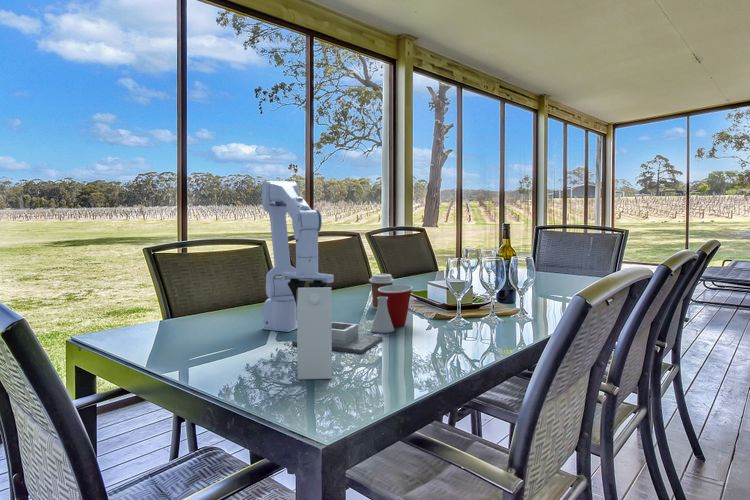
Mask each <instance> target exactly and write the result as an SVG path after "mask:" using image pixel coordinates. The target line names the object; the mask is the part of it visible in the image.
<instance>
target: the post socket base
mask: <svg viewBox="0 0 750 500" xmlns="http://www.w3.org/2000/svg"><path fill="white" fill-rule="evenodd" d="M383 339H384V337H383V336H379V335H373V334H371V335H370V334H360V333H359V324H358V323H350V322H349V323H348V322H339V321H337V322H336V321H332V351H337V352H344V353H345V352H346V353H353V354H358V355H359V354H360V355H362V354H364V353H365V352H368V351H369V350H370V349H371V348H373V347H375V346H376V345H377V344H379V343H380V342H382V341H383ZM291 342H292V343H291V346H296V347H297V338H296V339H295V340H292V341H291Z"/></svg>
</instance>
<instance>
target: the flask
mask: <svg viewBox="0 0 750 500" xmlns="http://www.w3.org/2000/svg"><path fill="white" fill-rule="evenodd" d="M377 299H378V308H377V309H376V312H375V316H374V319H373V321H372V323H371V326H370V332H372V333H378V334H390V333H393V332H394V331H395V327H393V324H392V322H391V319H390V315H389V312H388V308H387V300H388V297H377Z"/></svg>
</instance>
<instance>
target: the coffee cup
mask: <svg viewBox="0 0 750 500" xmlns="http://www.w3.org/2000/svg"><path fill="white" fill-rule="evenodd" d="M368 281H369V283H370V285H371V286H370V287H371V297H372V299H371V300H372V308H373V309H374V310H377V308H378V299H377V297H381V295H380V293H379V291H378V288H380V287H384V286H389V285H394V284H393V283H395V279H394V278H393V275H392V274H390V273H374V274H372V275H371V277H370V278H369V279H368Z"/></svg>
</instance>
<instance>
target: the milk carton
mask: <svg viewBox="0 0 750 500" xmlns="http://www.w3.org/2000/svg"><path fill="white" fill-rule="evenodd" d="M332 311H333V310H332V287H331V286H330V287H327V286H326V287H322V288H310V287H304V288H298V300H297V306H296V313H297V329H296V335H297V336H296V337H297V338H296V339H297V346H296V347H297V354H296V355H297V361H296V362H297V380H328V379H329V380H331V379H333V378H332V377H333V376H332V375H333V372H332V369H333V366H332V365H333V363H332V361H333V358H332V355H333V354H332V353H333V350H332V322H333V321H332V319H333V318H332V315H333V314H332Z"/></svg>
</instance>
